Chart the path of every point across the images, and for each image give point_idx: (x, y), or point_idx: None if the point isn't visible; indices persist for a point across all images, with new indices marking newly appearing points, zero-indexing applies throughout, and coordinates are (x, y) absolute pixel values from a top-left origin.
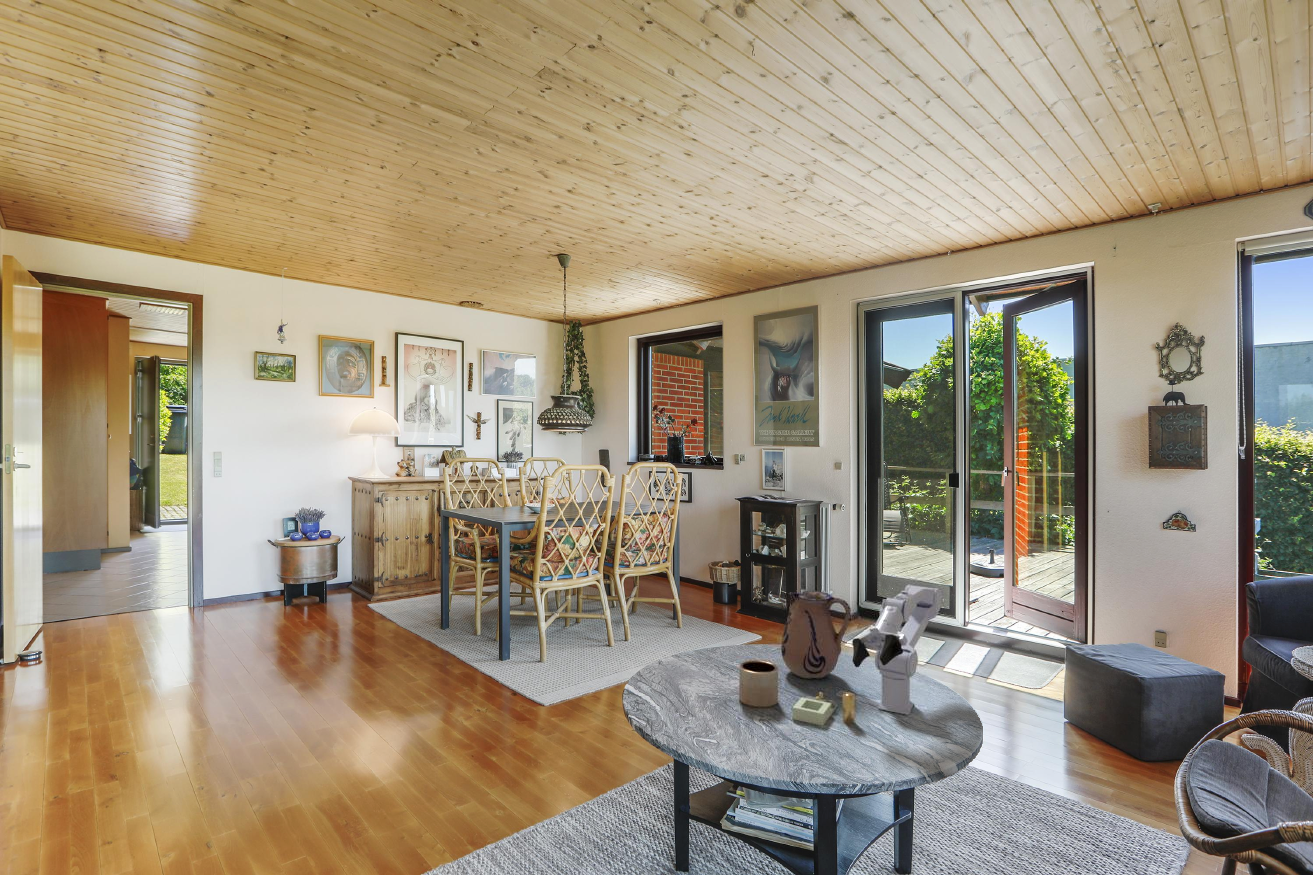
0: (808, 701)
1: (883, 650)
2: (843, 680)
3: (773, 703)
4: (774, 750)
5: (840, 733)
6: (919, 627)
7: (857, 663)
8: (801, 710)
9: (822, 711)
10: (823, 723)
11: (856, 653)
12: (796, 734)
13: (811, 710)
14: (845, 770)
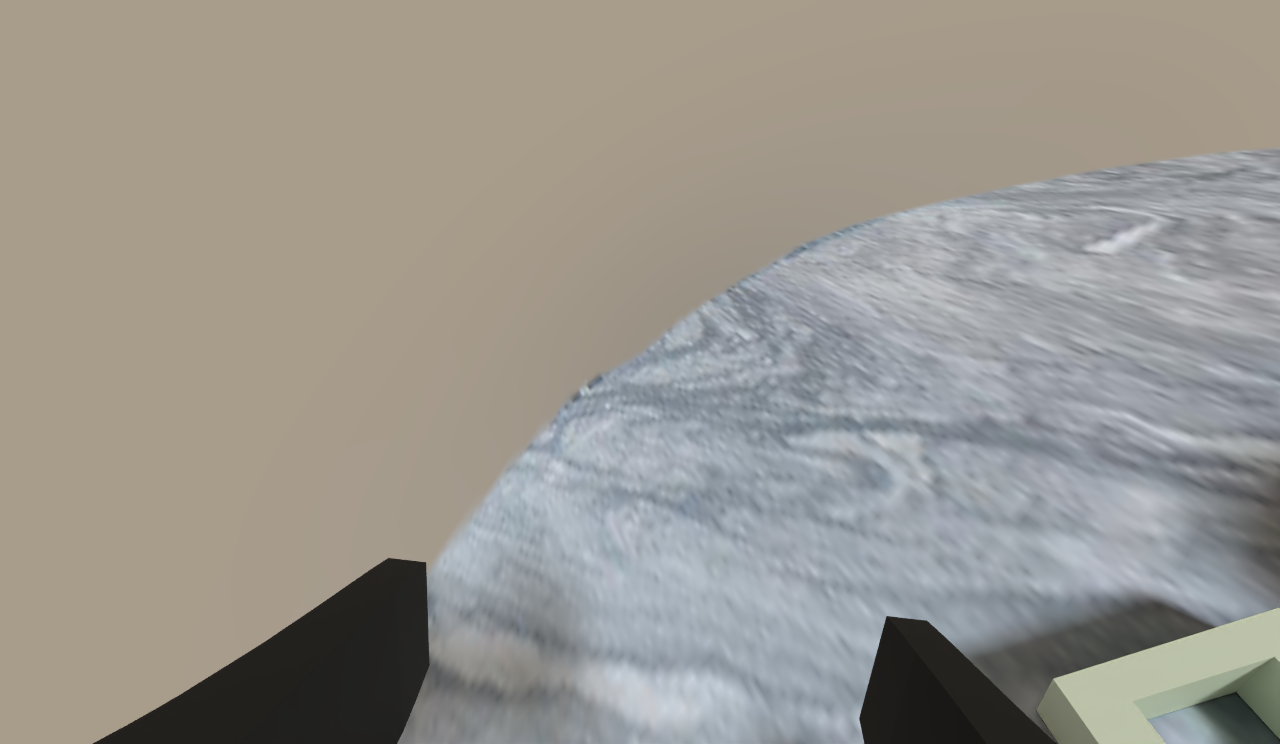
0: None
1: (293, 652)
2: None
3: None
4: (914, 343)
5: None
6: None
7: (877, 709)
8: (1214, 630)
9: (1103, 720)
10: (1043, 712)
11: (974, 738)
12: (1001, 493)
13: (1160, 666)
14: (652, 417)
